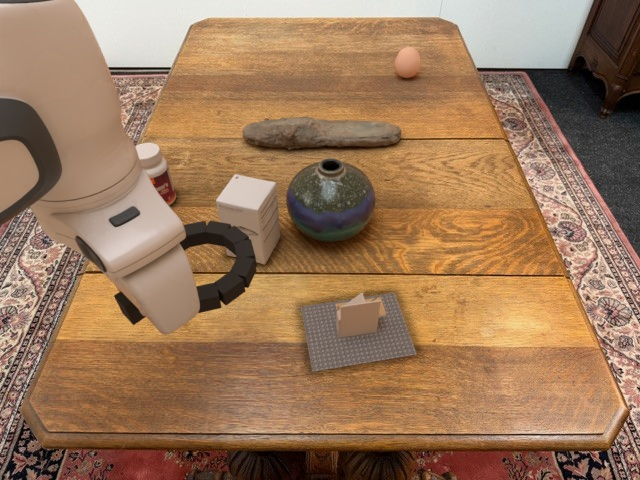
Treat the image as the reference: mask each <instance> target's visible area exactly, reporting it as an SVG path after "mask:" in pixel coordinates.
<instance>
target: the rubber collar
mask: <svg viewBox="0 0 640 480" xmlns="http://www.w3.org/2000/svg"><path fill="white" fill-rule="evenodd" d="M183 226H184V229H185V232H186V238H185V239H184V240H182V241H181V242H180V245H181V246H182V248H183V249H184V251H185V252H186V250H188V249H190V248H192V247H198V246H203V245H213V246H218V247H225V249H226V248H227V249H228V250H230V251H231V252H232V253H233V254H235V255H236V257H235V258H236V259H235V261H234V263H233V265H232V267H231V268H230V269H229V272H227V273H225V274H224V275H223V276H221V277H220V278H218V279H217V280H216V281H214V282H209V283H206V284H201V285H196V287H197V292H198V296H199V301H200V309H199V312H198V313H197V314H202V313H207V312H209V311H210V312H211V311H214V310H219V309H222V304H223V305H224V306H228V305H229V304H231V303H232V302H233V301H235V300H236V299H237V298H239V297H241V296H242V295H243V294H244V293H246V289H249V287H250V285H251V283H252V282H253V279H254V276H255V275H256V272H257V267H258V266H257V265H258V263H257V262H256V257H255V253H254V249H253V245H252V241H251V239H249V236H248V235H246V234H245V233H244V232H242V231H241V230H240V229H238V228H237V227H236V226H233V227H231V224H227V223H221V222H220V221H214V220H209V221H208V222H207V221H206V220H202V221H196V222H192V223H191V222H190V223H185V224H183ZM113 297H114V299H115V301H116V303H117V306H118V307H119V309H120V311H121V313H122V315H123V316H124V317H125V318H126V320H128V321H129V322H130V323H131V324H132V326H135V325H136V324H138V323H139V322H140V321H143V320H144V319H146V317H145V316H143V315H142V314H141V313H140V312H139V311H138V310H137V309H136V308H135V305H134V304H133V303H132V302H131V301H130V300H129V299H128V298H127V297H126V296H125V295H124V294H123V293H122V292H121V291H120V292H119V291H118V292H117V293H115V294H114V295H113Z"/></svg>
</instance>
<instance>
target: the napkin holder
mask: <svg viewBox="0 0 640 480" xmlns="http://www.w3.org/2000/svg"><path fill="white" fill-rule="evenodd" d="M366 297H367V296H365V295H364V293H363V292H360V293H359V294H357V295H356V296H355V297H353V298H349V299H345V300H346V301H344V302H338V303H336V304H335V308H336V314H335V328H336V332H337V336H338V337H340V338H345V337H353V336H359V335H365V334H371V333H377V332H378V326H379V318H381V317H386V316H387V312H386V309H385V306H384V303H383V300H382V297H381V296H378V297H371V298H366Z"/></svg>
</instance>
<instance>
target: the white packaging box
mask: <svg viewBox="0 0 640 480" xmlns="http://www.w3.org/2000/svg"><path fill="white" fill-rule="evenodd" d="M215 204H216V209H217V214H218V218H219V222H221V223H227V224H231V227H233V226H236V227H237V228H238V229H240V230H241V231H242V232H244V233H245V234H246V235H248V236H249V239H251V241H252V245H253V249H254V253H255V257H256V264H260V265H267V263H268V261H269V259H270V257H271V255H272V253H273V252H274V250H275V248H276V246H277V244H278V242H279V240H280V239H281V230H280V229H281V228H280V215H279V214H280V213H279V204H278V191H277V182H276V181H271V180H266V179H261V178H256V177H252V176H247V175H243V174H237V173H234V174H233V176H232V178H231V179H230V180H229V181H228V183H227V184H226V186H225V187H224V188H223V190H222V191H221V192H220V194H219V195H218V196H217V198H216V200H215ZM225 251H226V256H228V257H233V258H237V257H236V255H235V254H233V253H232V252H231V251H230V250H228V249H227V248H226V247H225Z"/></svg>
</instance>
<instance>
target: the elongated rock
mask: <svg viewBox="0 0 640 480" xmlns="http://www.w3.org/2000/svg"><path fill="white" fill-rule="evenodd" d="M241 135H242V136H241V137H242V138H243V139H244V140H245V141H247V142H248V143H249V144H250V145H252V144H253V145H255V146H262V147H267V148H268V147H270V148H285V149H286V150H289V151H290V150H293V149H297V150H298V149H301V148H320V147H325V146H328V147H337V148H342V147H364V148H365V147H367V148H368V147H371V148H372V147H373V148H377V147H381V146H384V147H386V146H389V145H394V144H397V143H398V142H399V141H400V140H401V138H402V137H401V136H402V129H401V128H400V126H398V125H397V124H392V123H388V122H385V121H383V120H358V119H357V120H355V119H354V120H351V119H350V120H348V119H345V120H336V119H335V120H331V119H330V120H328V119H324V118H323V119H320V118H314V117H309V116H300V117H297V116H296V117H281V118H278V119H266V120H259V121H256V122H255V121H254V122H250V123H248V124H247V123H246V125H244V126H243V128H242V134H241Z"/></svg>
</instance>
